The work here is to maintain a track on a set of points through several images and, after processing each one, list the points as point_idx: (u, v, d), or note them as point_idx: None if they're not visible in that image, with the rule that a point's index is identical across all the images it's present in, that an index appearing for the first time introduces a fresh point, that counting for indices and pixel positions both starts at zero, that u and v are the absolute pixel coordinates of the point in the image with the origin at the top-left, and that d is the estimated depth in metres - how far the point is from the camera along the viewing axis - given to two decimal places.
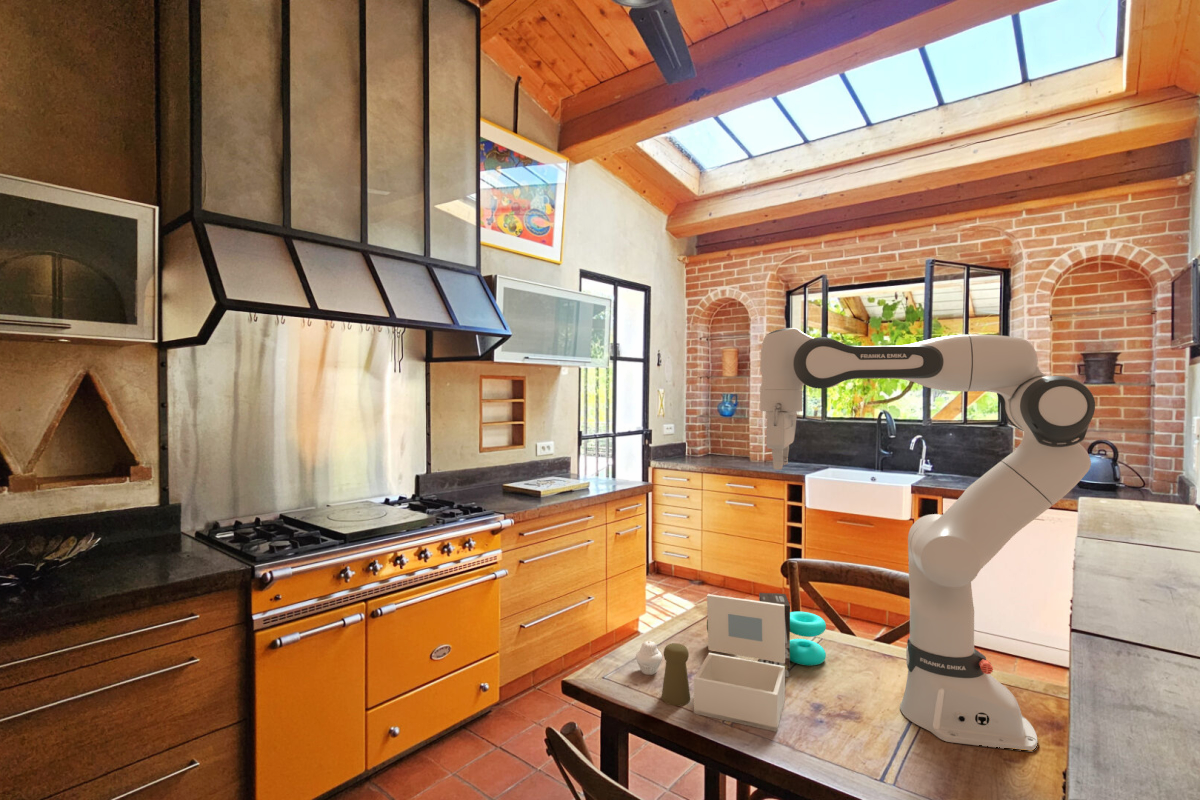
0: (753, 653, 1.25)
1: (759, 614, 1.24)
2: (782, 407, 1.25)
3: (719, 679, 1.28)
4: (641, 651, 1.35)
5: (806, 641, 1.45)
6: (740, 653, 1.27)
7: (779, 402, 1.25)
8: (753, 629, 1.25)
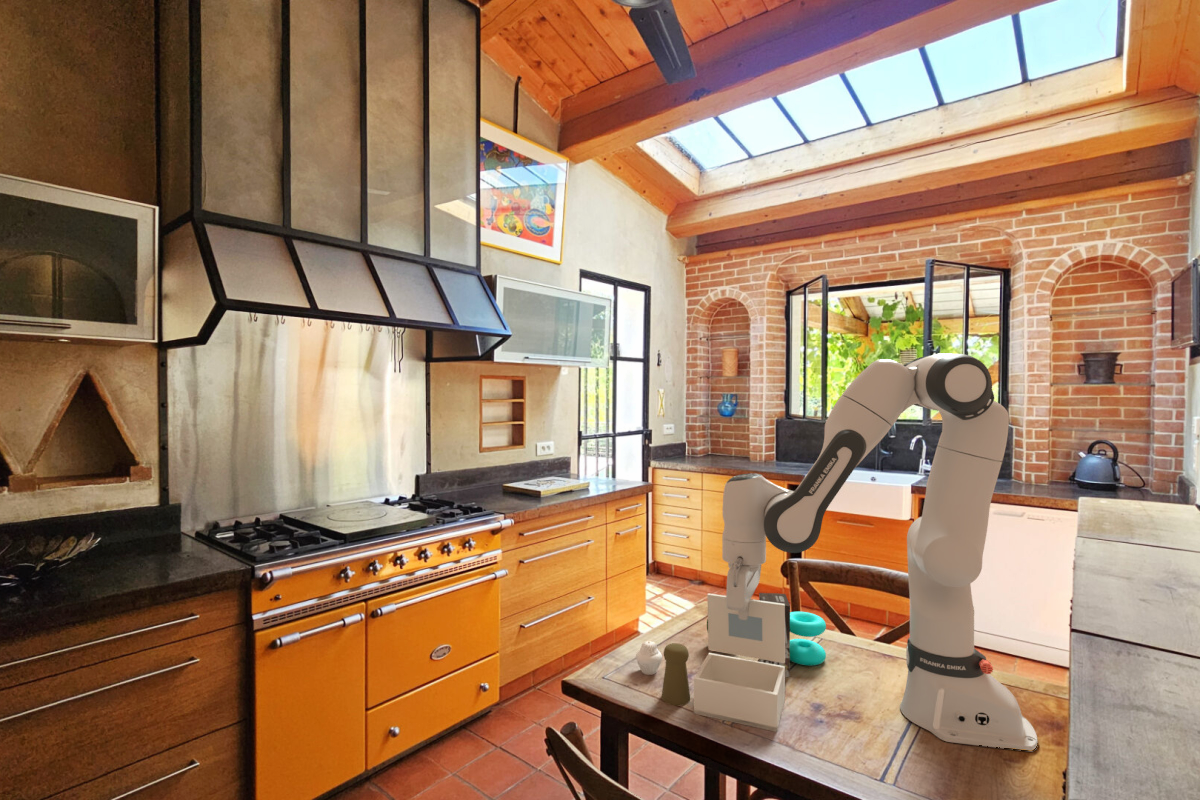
0: (753, 653, 1.25)
1: (759, 613, 1.24)
2: (744, 561, 1.19)
3: (719, 679, 1.28)
4: (641, 651, 1.35)
5: (806, 641, 1.45)
6: (740, 653, 1.27)
7: (741, 555, 1.19)
8: (754, 628, 1.25)
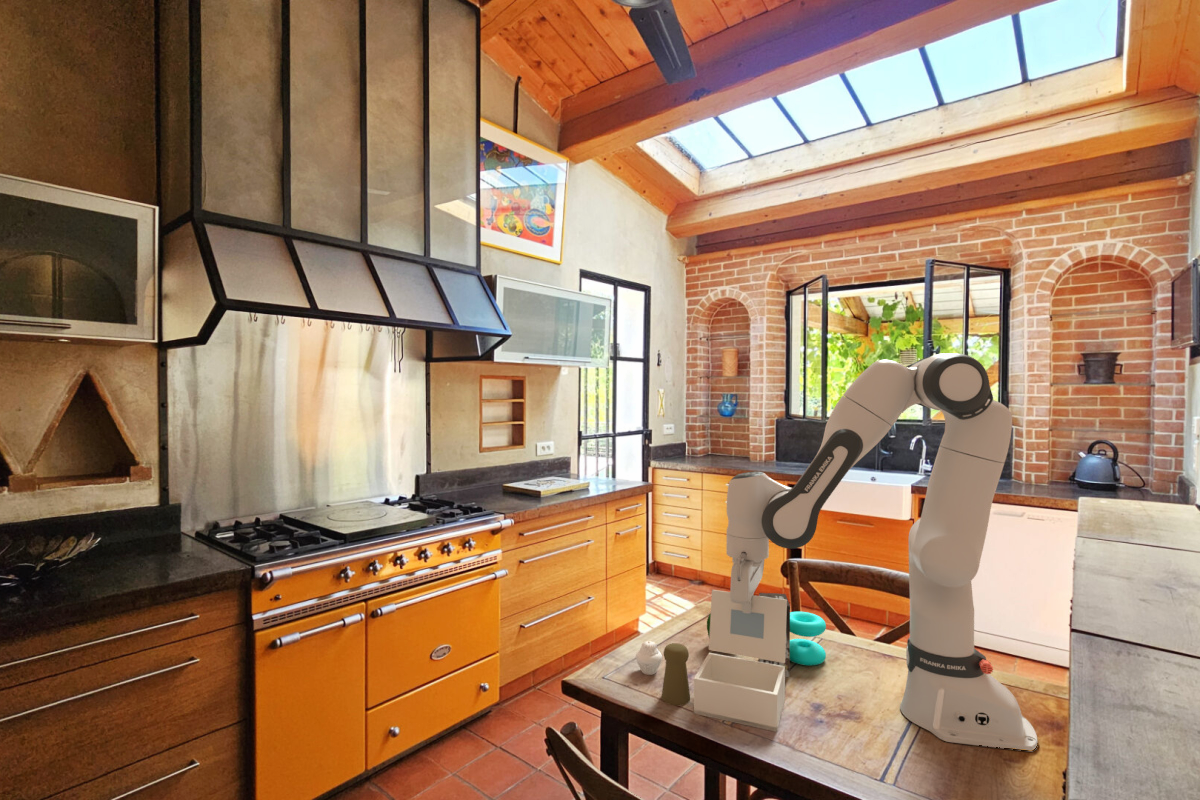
0: (753, 652, 1.26)
1: (761, 609, 1.27)
2: (747, 556, 1.23)
3: (719, 679, 1.28)
4: (641, 651, 1.35)
5: (806, 641, 1.45)
6: (740, 652, 1.27)
7: (744, 551, 1.23)
8: (755, 625, 1.27)
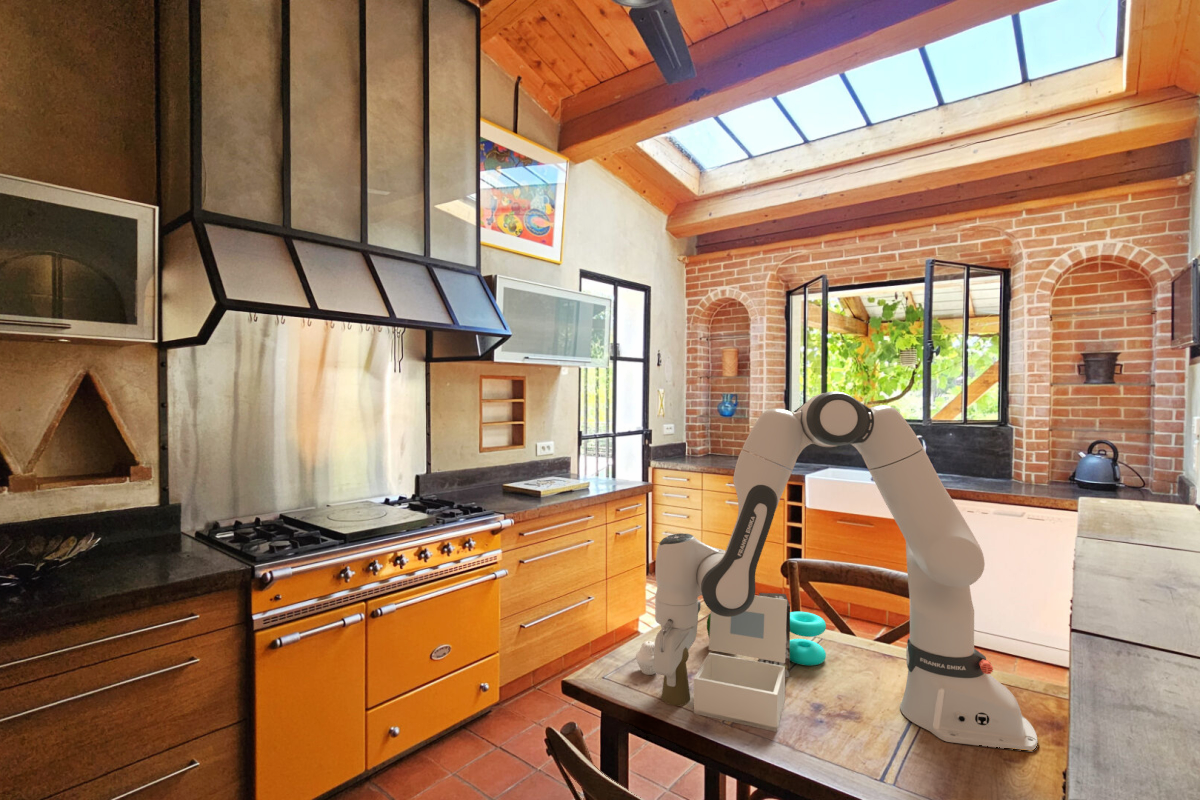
0: (753, 652, 1.26)
1: (762, 609, 1.27)
2: (674, 624, 1.20)
3: (719, 679, 1.28)
4: (641, 651, 1.35)
5: (806, 641, 1.45)
6: (740, 652, 1.27)
7: (671, 618, 1.20)
8: (755, 625, 1.27)
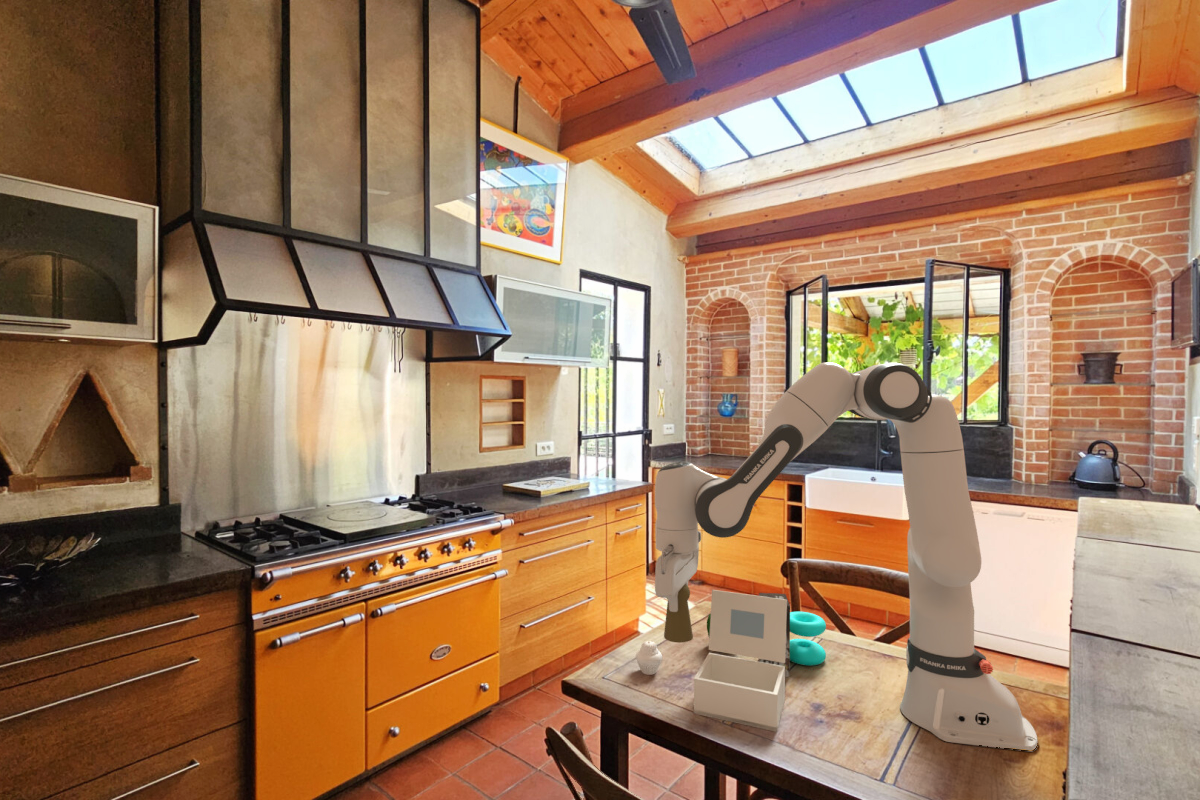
0: (753, 652, 1.26)
1: (762, 609, 1.27)
2: (674, 549, 1.20)
3: (719, 679, 1.28)
4: (641, 651, 1.35)
5: (806, 641, 1.45)
6: (740, 652, 1.27)
7: (671, 543, 1.20)
8: (755, 625, 1.27)
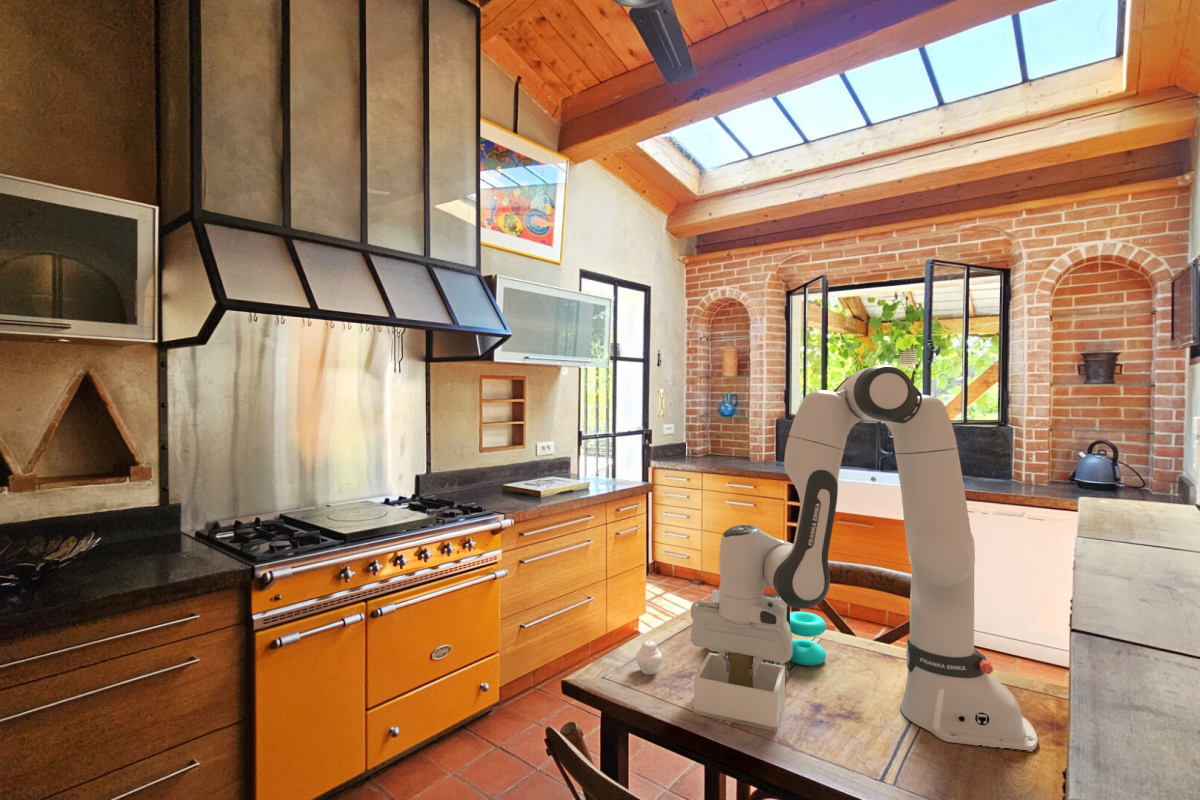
0: None
1: None
2: (718, 608, 1.22)
3: (719, 679, 1.28)
4: (641, 651, 1.35)
5: (806, 641, 1.45)
6: None
7: (719, 602, 1.22)
8: None
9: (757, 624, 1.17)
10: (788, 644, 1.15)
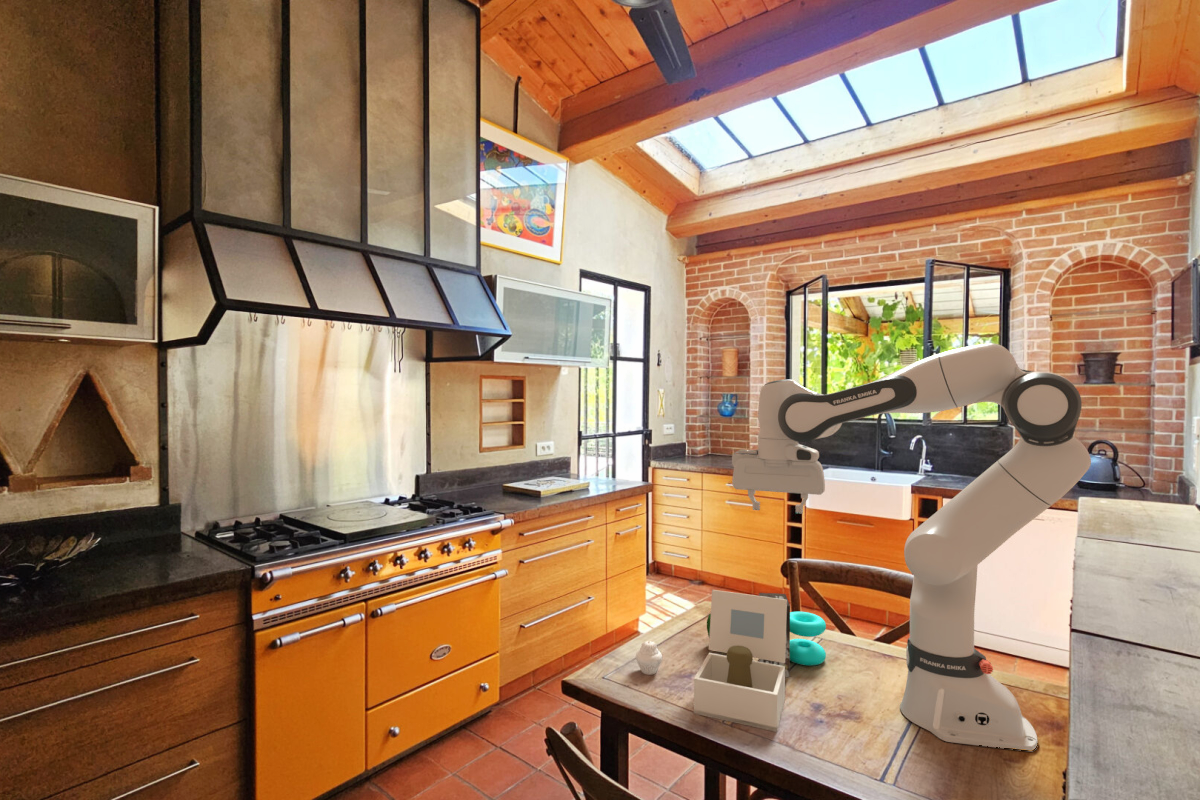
0: (753, 652, 1.26)
1: (762, 609, 1.27)
2: (758, 453, 1.36)
3: (719, 679, 1.28)
4: (641, 651, 1.35)
5: (806, 641, 1.45)
6: None
7: (758, 449, 1.37)
8: (755, 625, 1.27)
9: (793, 462, 1.31)
10: (821, 478, 1.29)
